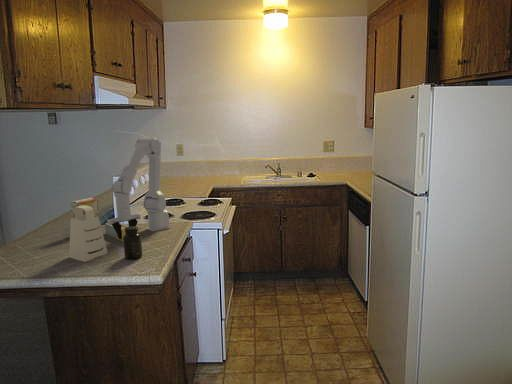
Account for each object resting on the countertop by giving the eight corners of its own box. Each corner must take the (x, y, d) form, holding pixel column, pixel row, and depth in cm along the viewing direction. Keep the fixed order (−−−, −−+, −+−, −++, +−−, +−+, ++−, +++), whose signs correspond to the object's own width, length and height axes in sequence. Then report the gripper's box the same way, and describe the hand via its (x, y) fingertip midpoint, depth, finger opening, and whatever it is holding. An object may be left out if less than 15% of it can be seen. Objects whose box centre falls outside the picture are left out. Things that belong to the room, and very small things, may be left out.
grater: (92, 250, 180) (87, 203, 176) (108, 254, 174) (103, 205, 170) (69, 257, 171) (63, 208, 168) (84, 261, 165) (79, 211, 162)
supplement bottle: (121, 257, 169) (118, 227, 167) (137, 253, 174) (134, 224, 172) (130, 261, 164) (127, 230, 162) (146, 256, 169) (143, 227, 167)
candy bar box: (81, 237, 199) (77, 202, 196) (74, 236, 201) (70, 201, 198) (100, 231, 208) (97, 198, 205) (93, 230, 211) (90, 197, 208)
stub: (127, 236, 196) (126, 225, 195) (133, 239, 192) (132, 227, 191) (116, 238, 193) (115, 227, 192) (122, 241, 189) (121, 230, 188)
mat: (124, 230, 209) (124, 229, 209) (150, 241, 190) (150, 240, 190) (98, 235, 200) (98, 235, 200) (122, 247, 181) (122, 247, 181)
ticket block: (116, 231, 205) (115, 221, 205) (127, 236, 197) (126, 225, 196) (105, 233, 202) (104, 223, 201) (116, 238, 193) (115, 227, 192)
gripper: (134, 203, 197) (137, 232, 199) (103, 208, 187) (106, 239, 190) (141, 205, 192) (144, 235, 194) (110, 211, 182) (113, 242, 185)
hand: (126, 237), depth 192 cm, fingers closed on stub, 5 cm apart
